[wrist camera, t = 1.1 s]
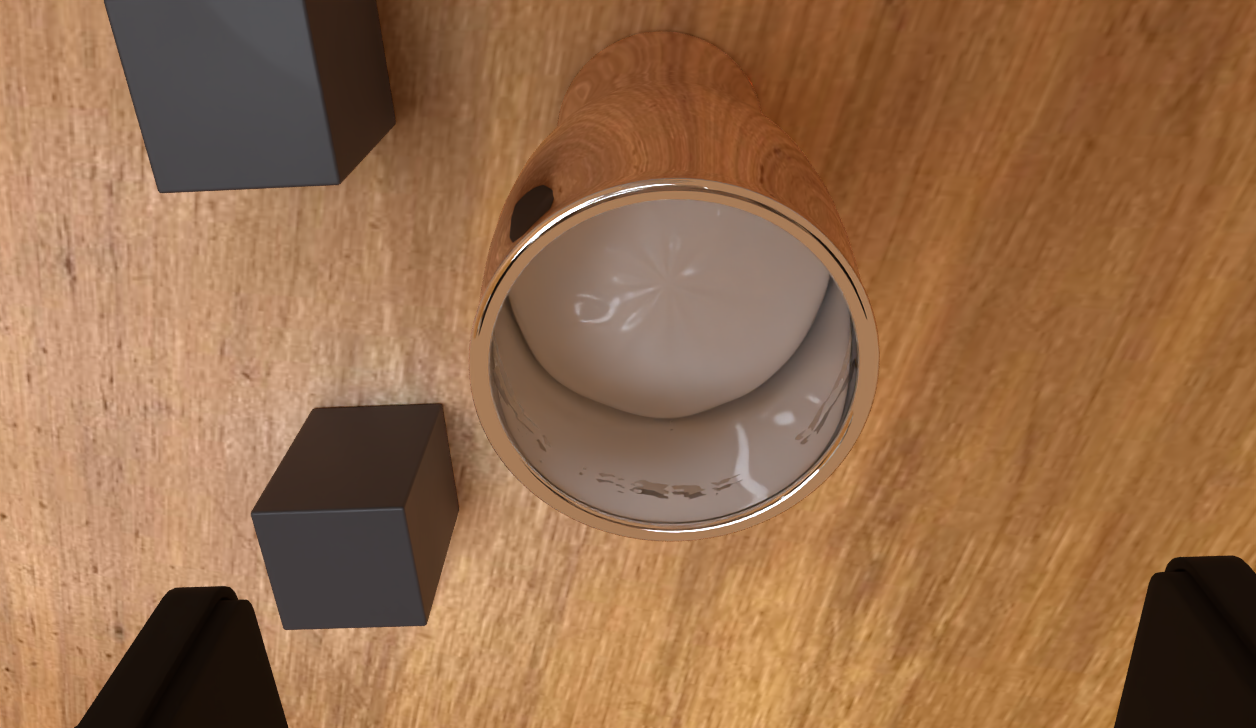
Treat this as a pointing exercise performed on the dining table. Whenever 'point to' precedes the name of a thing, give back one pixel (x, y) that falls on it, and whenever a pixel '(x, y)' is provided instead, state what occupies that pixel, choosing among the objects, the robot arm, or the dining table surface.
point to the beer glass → (671, 306)
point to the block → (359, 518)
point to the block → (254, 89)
